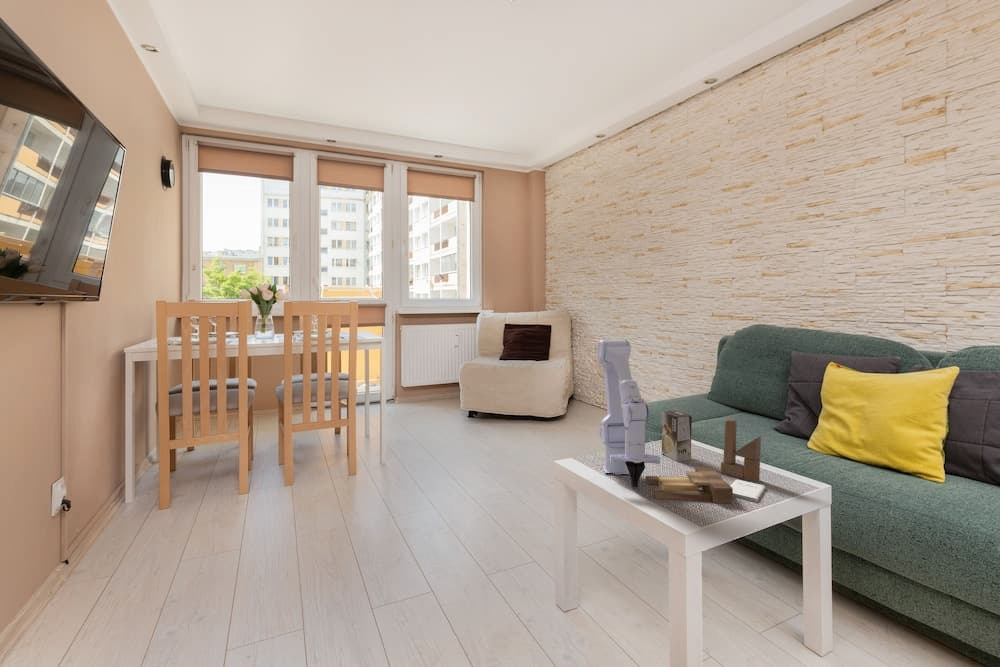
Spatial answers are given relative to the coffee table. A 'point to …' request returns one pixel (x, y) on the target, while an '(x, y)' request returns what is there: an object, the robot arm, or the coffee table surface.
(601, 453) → the coffee table surface
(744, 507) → the coffee table surface
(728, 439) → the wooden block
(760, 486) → the external hard drive
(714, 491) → the walnut dock
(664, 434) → the coffee box
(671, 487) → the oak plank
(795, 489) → the coffee table surface
